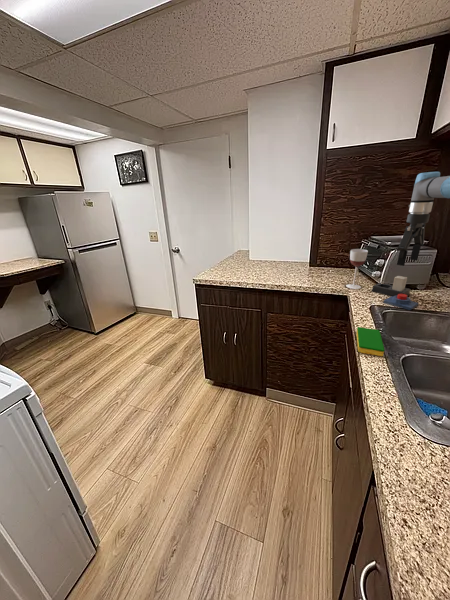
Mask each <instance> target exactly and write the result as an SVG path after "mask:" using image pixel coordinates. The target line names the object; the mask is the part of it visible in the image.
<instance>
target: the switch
mask: <svg viewBox="0 0 450 600" xmlns="http://www.w3.org/2000/svg"><path fill="white" fill-rule="evenodd" d="M407 297H408V296H407V295H405V294H398V296H397V298H398V299H401V300H406V299H407Z"/></svg>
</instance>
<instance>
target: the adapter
mask: <svg viewBox="0 0 450 600" xmlns="http://www.w3.org/2000/svg"><path fill="white" fill-rule="evenodd" d="M381 283H382V282H379V283H376V284H373V285H372V290H371V292H373V293H378V294H382V295H385V296H389V297H391V296H397V295H398V294H405V295H407V297H408V296H409V295H410V293H411V288H407V287H405V289H404V290H403V291H402V292H401V291H397V290H393V289H392V287H393V284H389V283H385V284H381Z"/></svg>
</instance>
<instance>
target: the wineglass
mask: <svg viewBox="0 0 450 600" xmlns="http://www.w3.org/2000/svg"><path fill="white" fill-rule="evenodd" d="M368 253H369V250H367V249H363V248H351V249H350V251H349V261H350V263H351V265H352V266H354V267H355V268H354V276H353V282H352V283H351V284H350V283H349V284H346V285H345V287H346V288H348V289H351V290H353V289H354V290H359V289H361V288H362V286H360V285H358V284H355V283H356V277H357V272H358V267H361V266H363V265H364V264H365V263H366V260H367V257H368Z"/></svg>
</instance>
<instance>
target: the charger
mask: <svg viewBox="0 0 450 600" xmlns="http://www.w3.org/2000/svg"><path fill="white" fill-rule="evenodd" d="M407 282H408V277H407V276H401V275H396V276H394V279H393V283H392V285H393V287H392V289H393V290H397V291H401V292H402V291H403V290H404V289H405V288H406V285H407Z"/></svg>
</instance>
